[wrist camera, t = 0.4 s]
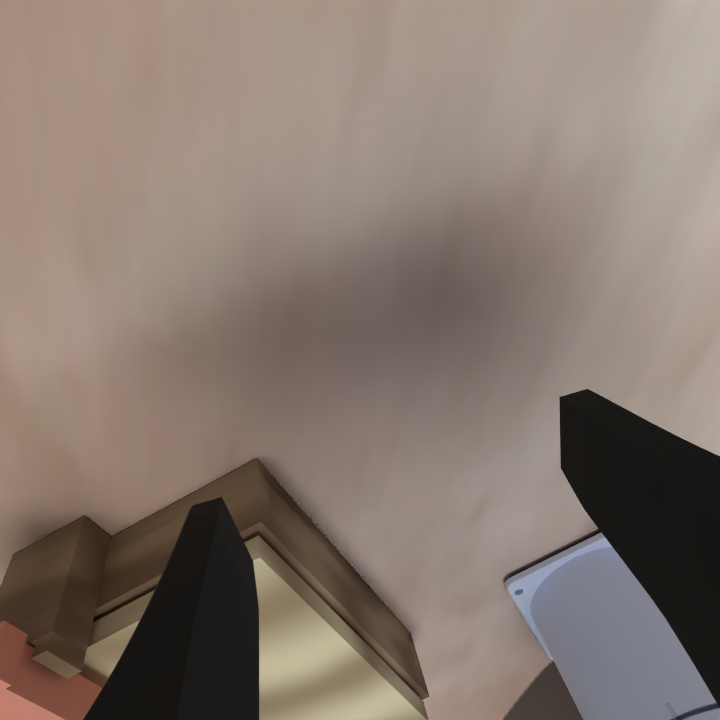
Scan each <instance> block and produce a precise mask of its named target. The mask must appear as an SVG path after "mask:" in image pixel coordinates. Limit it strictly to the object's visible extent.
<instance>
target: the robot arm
mask: <svg viewBox="0 0 720 720" xmlns="http://www.w3.org/2000/svg"><path fill="white" fill-rule="evenodd" d="M560 444H561V469H562V471H563V473H564V474H565V476H566V478H567V480H568V482H569V483H570V485H571V487H572V489H573V491H574V492H575V494H576V496H577V497H578V499H579V501H580V503H581V504H582V506H583V508H584V509H585V511H586V512H587V513H588V515H589V516H590V518H591V519H592V520H593V522H594V523H595V524H596V526H597V527H598V528H599V530H600V531H601V533H599V534H597V535H595V536H593V537H591V538H589V539H587V540H585V541H583V542H581V543H579V544H577V545H575V546H573V547H571V548H569V549H567V550H565V551H563V552H560V553H558V554H556V555H554V556H552V557H550V558H548V559H546V560H544V561H542V562H540V563H538V564H536V565H534V566H532V567H530V568H528V569H526V570H524V571H522V572H520V573H518V574H516V575H514V576H512V577H510V578H509V579H507V581H506V582H505V587H506V589H507V591H508V593H509V594H510V596H511V598H512V599H513V601H514V602H515V604H516V606H517V607H518V609H519V610H520V612H521V614H522V615H523V617H524V619H525V620H526V622H527V623H528V625H529V627H530V628H531V630H532V631H533V633H534V635H535V636H536V638H537V639H538V641H539V643H540V644H541V646H542V647H543V649H544V651H545V652H546V654H547V655H548V657H549V659H551V660H554V662H555V664H556V666H557V668H558V670H559V672H560V674H561V676H562V678H563V680H564V682H565V684H566V686H567V688H568V690H569V692H570V694H571V696H572V698H573V700H574V702H575V704H576V706H577V708H578V710H579V712H580V714H581V716H582V718H583V720H720V456H718V455H715V454H713V453H711V452H709V451H707V450H705V449H703V448H700V447H698V446H696V445H694V444H692V443H690V442H688V441H686V440H684V439H682V438H680V437H678V436H676V435H674V434H672V433H670V432H668V431H666V430H664V429H662V428H660V427H658V426H656V425H654V424H652V423H650V422H649V421H647V420H645V419H643V418H641V417H639V416H637V415H635V414H634V413H632V412H630V411H628V410H626V409H624V408H622V407H621V406H619V405H617V404H615V403H613V402H611V401H609V400H608V399H606V398H604V397H602V396H600V395H598V394H596V393H594V392H592V391H590V390H588V389H586V390H582V391H579V392H575V393H572V394H569V395H565V396H562V397H560ZM83 720H259V606H258V597H257V588H256V580H255V572H254V564H253V560H252V558H251V556H250V554H249V552H248V550H247V547H246V545H245V543H244V541H243V539H242V537H241V535H240V533H239V531H238V529H237V527H236V525H235V523H234V521H233V519H232V517H231V514H230V512H229V510H228V508H227V506H226V504H225V502H224V500H223V498H222V497H219V498H216V499H213V500H209V501H206V502H202V503H199V504H196V505H192V507H191V509H190V510H189V512H188V515H187V517H186V520H185V522H184V524H183V527H182V529H181V532H180V534H179V537H178V539H177V541H176V544H175V546H174V548H173V551H172V553H171V555H170V558H169V560H168V562H167V564H166V567H165V569H164V571H163V573H162V576H161V578H160V580H159V582H158V584H157V586H156V588H155V591H154V593H153V595H152V597H151V599H150V601H149V603H148V605H147V607H146V609H145V612H144V614H143V615H142V617H141V619H140V621H139V623H138V625H137V627H136V629H135V631H134V633H133V635H132V636H131V638H130V640H129V642H128V644H127V646H126V648H125V650H124V652H123V654H122V655H121V657H120V659H119V661H118V662H117V664H116V666H115V668H114V669H113V671H112V673H111V675H110V676H109V678H108V680H107V682H106V683H105V685H104V687H103V688H102V690H101V691H100V693H99V695H98V696H97V698H96V700H95V701H94V703H93V704H92V706H91V708H90V709H89V711H88V712H87V714H86V716H85V717H84V719H83Z"/></svg>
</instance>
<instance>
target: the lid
mask: <svg viewBox="0 0 720 720" xmlns="http://www.w3.org/2000/svg"><path fill="white" fill-rule="evenodd" d="M245 545H246V547H247V550H248V552H249V554H250V556H251V558H252V560H253V564H254V572H255V580H256V588H257V597H258V606H259V720H428V717H427V713H426V710H425V706H424V702H423V701H422V700H421V699H420V698H419V697H418V696H417V695H416V694H415V693H414V692H413V691H412V690H411V689H410V688H409V687H408V686H407V685H406V684H405V683H404V682H403V681H402V680H401V679H400V678H399V677H398V676H397V675H396V674H395V673H394V672H393V671H392V670H391V669H390V668H389V667H388V666H387V665H386V663H385V662H384V661H383V660H382V659H381V658H380V657H379V656H378V655H377V654H376V653H375V652H374V651H373V650H372V649H371V648H370V647H369V646H368V645H367V644H366V643H365V642H364V641H363V640H362V639H361V638H360V637H359V636H358V635H357V634H356V633H355V632H354V631H353V630H352V629H351V628H350V627H349V626H348V625H347V624H346V623H345V622H344V621H343V620H342V619H341V618H340V617H339V616H338V615H337V614H336V613H335V612H334V611H333V610H332V609H331V608H330V607H329V606H328V605H327V604H326V603H325V602H324V601H323V600H322V599H321V598H320V597H319V596H318V595H317V594H316V593H315V592H314V591H313V590H312V589H311V588H310V587H309V586H308V585H307V584H306V583H305V582H304V581H303V580H302V579H301V578H300V577H299V576H298V575H297V574H296V573H295V572H294V571H293V570H292V569H291V568H290V567H289V566H288V565H287V564H286V563H285V562H284V561H283V560H282V559H281V558H280V557H279V556H278V555H277V553H276V552H275V551H274V550H273V549H272V548H271V547H270V546H269V545H268V544H267V543H266V542H265V541H264V540H263V539H262V538H261V537H260V536H259V535H258V536H256V537H254V538H252V539H250V540H248V541H247V542H245ZM154 591H155V590H154ZM154 591H152V592H150V593H148V594H146V595H144V596H142V597H140V598H138V599H137V600H135V601H133V602H131V603H129V604H127V605H125V606H123V607H121V608H119V609H118V610H116V611H114V612H112V613H110V614H108V615H106V616H104V617H102V618H101V619H99V620H97V621H95V622H93V623H92V627H91V632H90V636H89V641H88V646H87V650H86V655H85V659H84V664H83V668H82V671H81V672H79V673H77V674H79V675H81V676H83V677H84V678H86V679H88V680H89V681H91V682H93V683H95V684H96V685H98V686H100V687H101V688H103V687H104V685H105V683H106V682H107V680H108V678H109V676H110V675H111V673H112V671H113V669H114V668H115V666H116V664H117V662H118V661H119V659H120V657H121V655H122V654H123V652H124V650H125V648H126V646H127V644H128V642H129V640H130V638H131V636H132V635H133V633H134V631H135V629H136V627H137V625H138V623H139V621H140V619H141V617H142V615H143V614H144V612H145V609H146V607H147V605H148V603H149V601H150V599H151V597H152V595H153V593H154Z"/></svg>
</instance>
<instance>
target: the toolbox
mask: <svg viewBox="0 0 720 720" xmlns="http://www.w3.org/2000/svg"><path fill="white" fill-rule="evenodd" d="M219 497H222V498H223V500H224V502H225V504H226V506H227V508H228V510H229V512H230V514H231V517H232V519H233V521H234V523H235V525H236V527H237V529H238V531H239V533H240V535H241V537H242V539H243V541H244V543H245V542H247V541H248V540H250V539H252V538H254V537H256V536H258V535H259V536H260V537H261V538H262V539H263V540H264V541H265V542H266V543H267V544H268V545H269V546H270V547H271V548H272V549H273V550H274V551H275V552H276V553H277V555H278V556H279V557H280V558H281V559H282V560H283V561H284V562H285V563H286V564H287V565H288V566H289V567H290V568H291V569H292V570H293V571H294V572H295V573H296V574H297V575H298V576H299V577H300V578H301V579H302V580H303V581H304V582H305V583H306V584H307V585H308V586H309V587H310V588H311V589H312V590H313V591H314V592H315V593H316V594H317V595H318V596H319V597H320V598H321V599H322V600H323V601H324V602H325V603H326V604H327V605H328V606H329V607H330V608H331V609H332V610H333V611H334V612H335V613H336V614H337V615H338V616H339V617H340V618H341V619H342V620H343V621H344V622H345V623H346V624H347V625H348V626H349V627H350V628H351V629H352V630H353V631H354V632H355V633H356V634H357V635H358V636H359V637H360V638H361V639H362V640H363V641H364V642H365V643H366V644H367V645H368V646H369V647H370V648H371V649H372V650H373V651H374V652H375V653H376V654H377V655H378V656H379V657H380V658H381V659H382V660H383V661H384V662H385V663H386V665H387V666H388V667H389V668H390V669H391V670H392V671H393V672H394V673H395V674H396V675H397V676H398V677H399V678H400V679H401V680H402V681H403V682H404V683H405V684H406V685H407V686H408V687H409V688H410V689H411V690H412V691H413V692H414V693H415V694H416V695H417V696H418V697H419V698H420V699H421V700H423V699H425V698H427V697H429V694H428V690H427V687H426V684H425V680H424V677H423V674H422V670H421V667H420V663H419V660H418V657H417V653H416V650H415V646H414V643H413V640H412V636H411V634H410V633H409V631H408V630H407V629H406V628H405V627H404V626H403V625H402V624H401V622H400V621H399V620H398V619H397V618H396V617H395V616H394V614H393V613H392V612H391V611H390V610H389V609H388V608H387V606H386V605H385V604H384V603H383V602H382V601H381V600H380V598H379V597H378V596H377V595H376V594H375V593H374V592H373V590H372V589H371V588H370V587H369V586H368V585H367V584H366V583H365V581H364V580H363V579H362V578H361V577H360V576H359V575H358V573H357V572H356V571H355V570H354V569H353V568H352V567H351V565H350V564H349V563H348V562H347V561H346V560H345V559H344V557H343V556H342V555H341V554H340V553H339V552H338V551H337V549H336V548H335V547H334V546H333V545H332V544H331V543H330V542H329V540H328V539H327V538H326V537H325V536H324V535H323V534H322V532H321V531H320V530H319V529H318V528H317V527H316V526H315V524H314V523H313V522H312V521H311V520H310V519H309V518H308V516H307V515H306V514H305V513H304V512H303V511H302V510H301V508H300V507H299V506H298V505H297V504H296V503H295V502H294V501H293V499H292V498H291V497H290V496H289V495H288V494H287V493H286V491H285V490H284V489H283V488H282V487H281V486H280V485H279V483H278V482H277V481H276V480H275V479H274V478H273V477H272V475H271V474H270V473H269V472H268V471H267V470H266V469H265V467H264V466H263V465H262V464H261V463H260V462H259V461H258V460H257V458H256V459H254V460H253V461H251V462H249V463H247V464H245V465H243V466H242V467H240V468H238V469H236V470H234V471H232V472H230V473H229V474H227V475H225V476H223V477H221V478H219V479H218V480H216V481H214V482H212V483H210V484H208V485H206V486H205V487H203V488H201V489H199V490H197V491H195V492H194V493H192V494H190V495H188V496H186V497H184V498H182V499H181V500H179V501H177V502H175V503H173V504H171V505H170V506H168V507H166V508H164V509H162V510H160V511H158V512H157V513H155V514H153V515H151V516H149V517H147V518H146V519H144V520H142V521H140V522H138V523H136V524H134V525H133V526H131V527H129V528H127V529H125V530H123V531H122V532H120V533H118V534H116V535H114V536H112V537H111V536H109V535H108V534H107V533H106V532H104V531H103V530H102V529H101V528H100V527H98V526H97V525H96V524H95V523H93V522H92V521H91V520H90V519H88V518H87V517H86V516H83V517H81V518H80V519H78V520H76V521H74V522H72V523H71V524H69V525H67V526H65V527H63V528H61V529H60V530H58V531H56V532H54V533H52V534H50V535H49V536H47V537H45V538H43V539H41V540H40V541H38V542H36V543H34V544H32V545H30V546H29V547H27V548H25V549H23V550H21V551H19V552H18V553H16V554H14V555H13V556H12V559H11V561H10V564H9V566H8V569H7V571H6V574H5V576H4V579H3V581H2V584H1V587H0V622H2V621H6V622H8V623H9V624H11V625H13V626H14V627H16V628H18V629H19V630H21V631H23V632H24V633H26V634H28V636H27V639H26V642H25V643H26V644H28V645H30V646H31V647H33V648H35V649H34V652H33V655H32V659H33V660H35V661H37V662H39V663H40V664H42V665H44V666H46V667H47V668H49V669H51V670H53V671H54V672H56V673H58V674H60V675H61V676H63V677H65V678H67V679H68V678H70V677H72V676H74V675H76V674H77V673H79V672H81V671H82V668H83V664H84V659H85V655H86V650H87V646H88V641H89V636H90V632H91V627H92V623H93V622H95V621H97V620H99V619H101V618H102V617H104V616H106V615H108V614H110V613H112V612H114V611H116V610H118V609H119V608H121V607H123V606H125V605H127V604H129V603H131V602H133V601H135V600H137V599H138V598H140V597H142V596H144V595H146V594H148V593H150V592H152V591H154V590H155V588H156V586H157V584H158V582H159V580H160V578H161V576H162V573H163V571H164V569H165V567H166V564H167V562H168V560H169V558H170V555H171V553H172V551H173V548H174V546H175V544H176V541H177V539H178V537H179V534H180V532H181V529H182V527H183V524H184V522H185V520H186V517H187V515H188V512H189V510H190V509H191V507H192V505H196V504H199V503H202V502H206V501H209V500H213V499H216V498H219Z"/></svg>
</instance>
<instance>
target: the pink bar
mask: <svg viewBox="0 0 720 720" xmlns="http://www.w3.org/2000/svg"><path fill="white" fill-rule="evenodd" d="M27 636H28V634H26V633H24V632H23V631H21V630H19V629H18V628H16V627H14V626H13V625H11V624H9V623H8V622H6V621H2V622H0V720H83V719H84V717H85V716H86V714H87V712H88V711H89V709H90V708H91V706H92V704H93V703H94V701H95V700H96V698H97V696H98V695H99V693H100V691H101V690H102V688H101V687H100V686H98V685H96V684H95V683H93V682H91V681H89V680H88V679H86V678H84V677H83V676H81V675H79V674H76V675H74V676H72V677H70V678H68V679H67V678H65V677H63V676H61V675H60V674H58V673H56V672H54V671H53V670H51V669H49V668H47V667H46V666H44V665H42V664H40V663H39V662H37V661H35V660H33V659H32V655H33V652H34V649H35V648H33V647H31V646H30V645H28V644H26V643H25V642H26V639H27Z"/></svg>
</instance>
